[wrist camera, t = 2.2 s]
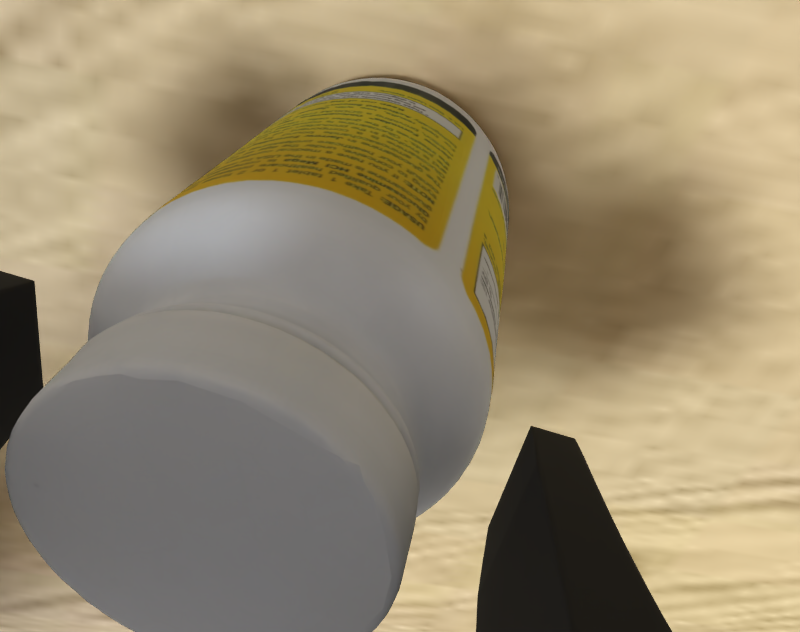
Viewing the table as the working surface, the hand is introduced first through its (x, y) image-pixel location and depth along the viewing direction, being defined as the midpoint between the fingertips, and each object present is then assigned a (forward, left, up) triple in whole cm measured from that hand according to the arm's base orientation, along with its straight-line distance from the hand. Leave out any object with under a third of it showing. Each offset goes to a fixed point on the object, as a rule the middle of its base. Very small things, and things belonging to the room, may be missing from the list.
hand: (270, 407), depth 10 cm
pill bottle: (0, 0, -9) cm, 9 cm away
